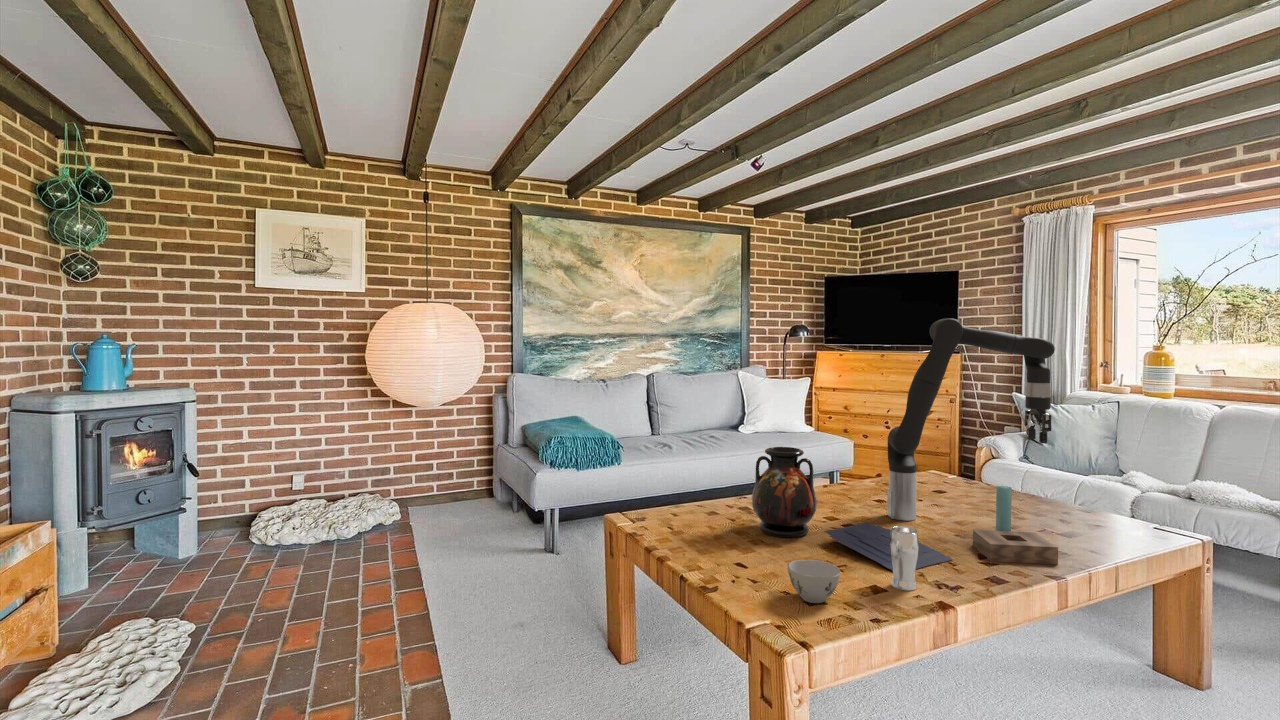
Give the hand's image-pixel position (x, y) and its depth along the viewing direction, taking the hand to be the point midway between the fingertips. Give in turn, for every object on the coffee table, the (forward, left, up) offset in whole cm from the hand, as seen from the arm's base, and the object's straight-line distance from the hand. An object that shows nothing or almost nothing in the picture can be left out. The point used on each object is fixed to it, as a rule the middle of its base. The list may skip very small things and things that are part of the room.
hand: (1037, 441), depth 215 cm
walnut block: (-22, -36, -29) cm, 51 cm away
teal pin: (-17, -16, -29) cm, 38 cm away
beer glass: (-61, -67, -30) cm, 95 cm away
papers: (-60, -40, -30) cm, 78 cm away
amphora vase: (-89, -24, -30) cm, 97 cm away
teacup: (-86, -78, -30) cm, 120 cm away
